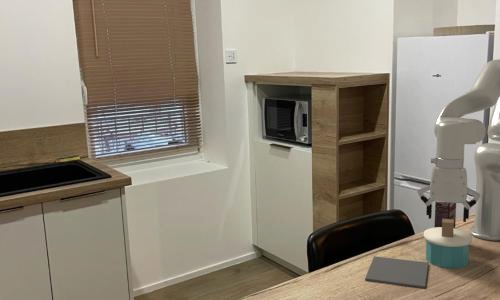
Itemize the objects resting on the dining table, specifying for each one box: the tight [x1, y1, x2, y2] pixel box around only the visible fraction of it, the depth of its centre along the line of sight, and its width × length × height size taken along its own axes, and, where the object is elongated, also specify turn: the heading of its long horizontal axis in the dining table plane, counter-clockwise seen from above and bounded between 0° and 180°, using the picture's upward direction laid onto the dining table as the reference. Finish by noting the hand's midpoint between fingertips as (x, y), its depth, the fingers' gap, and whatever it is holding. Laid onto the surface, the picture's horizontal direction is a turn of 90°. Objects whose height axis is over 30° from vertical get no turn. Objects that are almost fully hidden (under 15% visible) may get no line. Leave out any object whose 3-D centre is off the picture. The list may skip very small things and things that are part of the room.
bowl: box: [425, 240, 470, 269], centre depth 148 cm, size 12×12×7 cm
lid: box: [423, 219, 473, 247], centre depth 147 cm, size 14×14×6 cm
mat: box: [364, 256, 429, 289], centre depth 142 cm, size 16×16×1 cm
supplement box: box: [433, 201, 457, 229], centre depth 160 cm, size 9×5×16 cm, turn 143°
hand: (447, 219), depth 146 cm, fingers open, 9 cm apart
